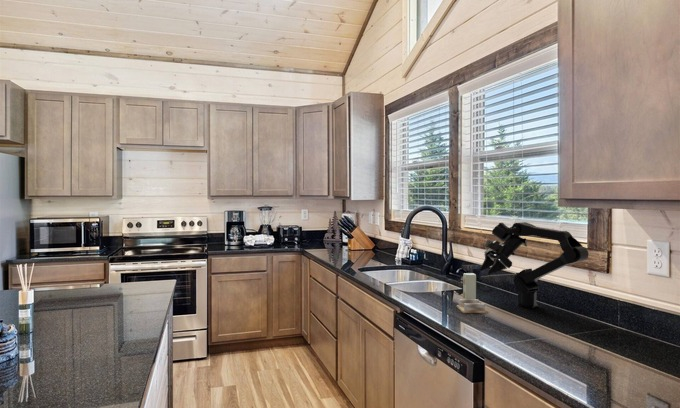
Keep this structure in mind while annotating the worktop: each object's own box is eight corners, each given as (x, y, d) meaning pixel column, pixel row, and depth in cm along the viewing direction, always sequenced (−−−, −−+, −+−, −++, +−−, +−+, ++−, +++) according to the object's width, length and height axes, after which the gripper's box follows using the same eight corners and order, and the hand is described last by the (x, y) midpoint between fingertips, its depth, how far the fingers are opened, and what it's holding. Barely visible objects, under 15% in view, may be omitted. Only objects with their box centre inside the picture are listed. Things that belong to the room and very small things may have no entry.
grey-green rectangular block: (473, 301, 192) (473, 273, 192) (475, 303, 188) (476, 274, 188) (461, 301, 192) (461, 273, 191) (464, 303, 188) (464, 274, 188)
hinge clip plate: (480, 306, 182) (480, 299, 182) (487, 312, 173) (488, 304, 173) (456, 306, 182) (456, 299, 182) (462, 312, 173) (463, 304, 173)
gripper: (488, 231, 199) (464, 255, 199) (504, 235, 180) (478, 262, 180) (505, 249, 199) (481, 273, 199) (523, 254, 181) (496, 281, 181)
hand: (484, 271), depth 190 cm, fingers open, 9 cm apart
